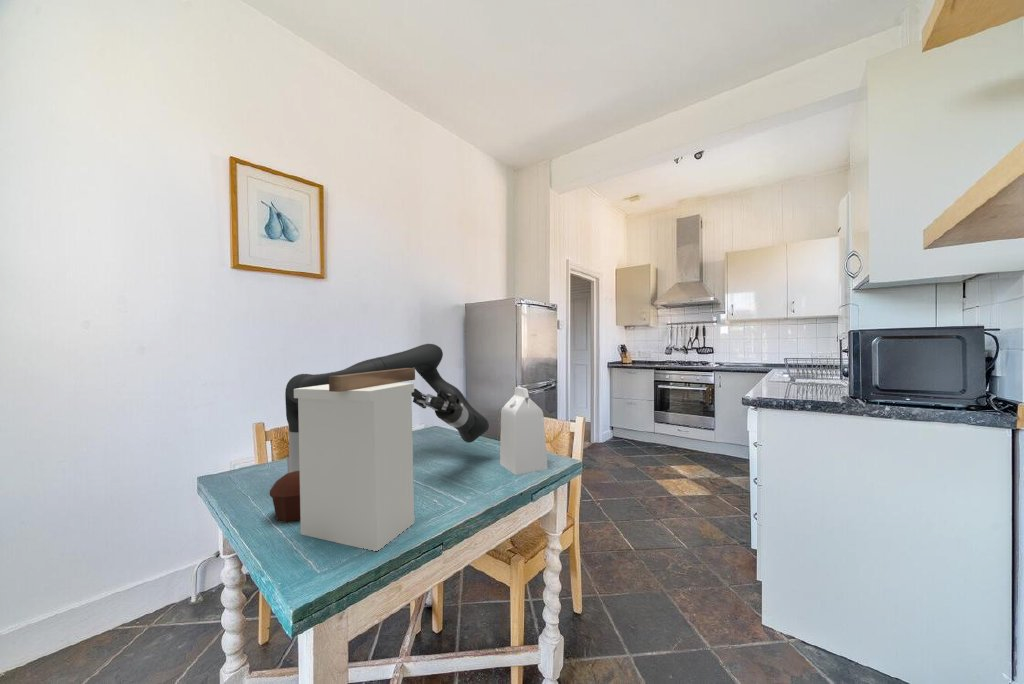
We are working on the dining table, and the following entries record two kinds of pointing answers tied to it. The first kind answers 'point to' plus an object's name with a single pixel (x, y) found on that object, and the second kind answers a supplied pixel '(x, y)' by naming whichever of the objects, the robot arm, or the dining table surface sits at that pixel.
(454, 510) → the dining table surface
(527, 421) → the milk
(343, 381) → the walnut handle
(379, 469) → the tall stand
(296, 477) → the muffin
